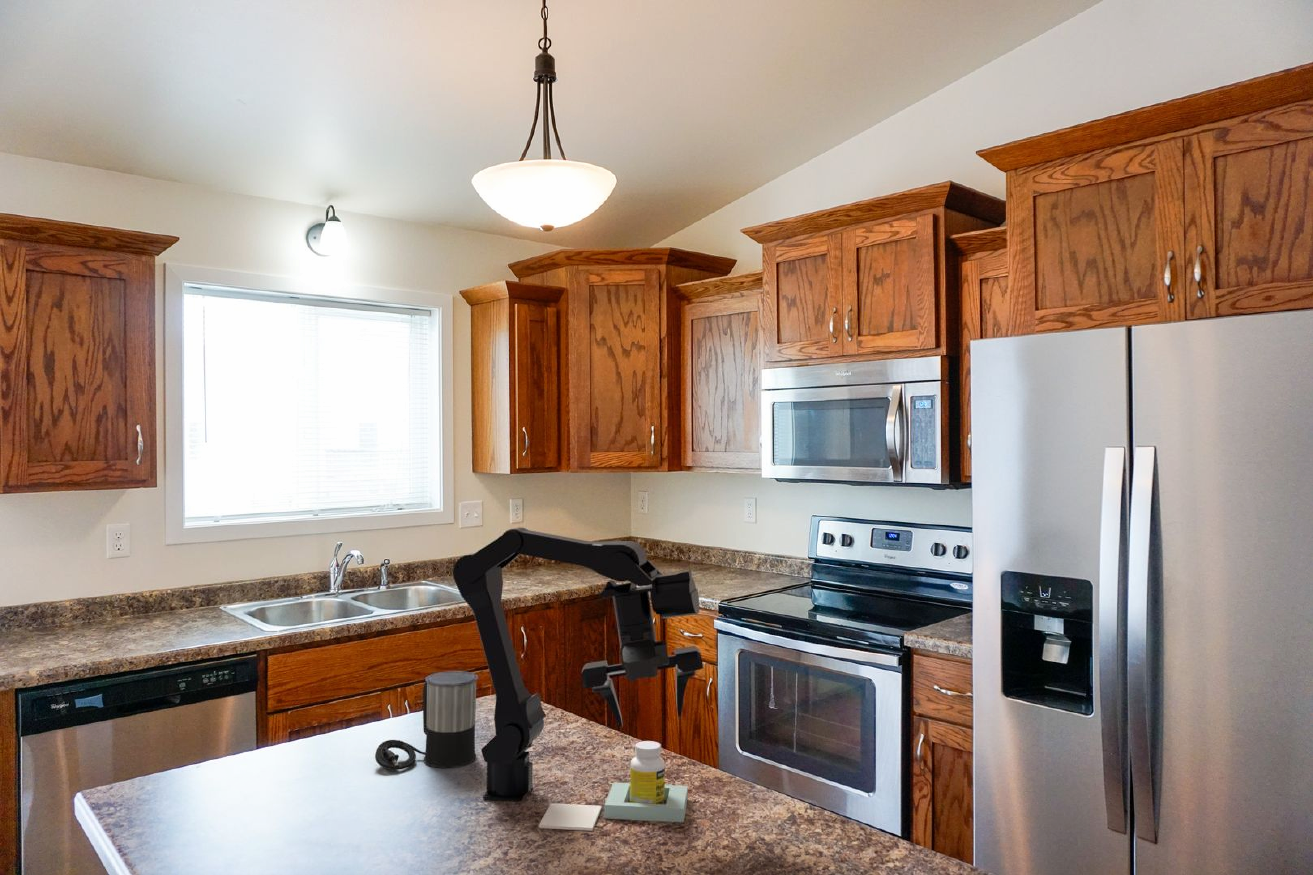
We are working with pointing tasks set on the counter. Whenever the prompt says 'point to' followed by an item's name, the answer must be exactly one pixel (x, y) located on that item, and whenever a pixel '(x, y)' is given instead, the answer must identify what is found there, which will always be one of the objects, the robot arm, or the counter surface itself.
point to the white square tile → (570, 817)
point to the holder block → (646, 805)
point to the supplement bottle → (647, 774)
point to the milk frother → (441, 724)
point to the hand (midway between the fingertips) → (650, 721)
